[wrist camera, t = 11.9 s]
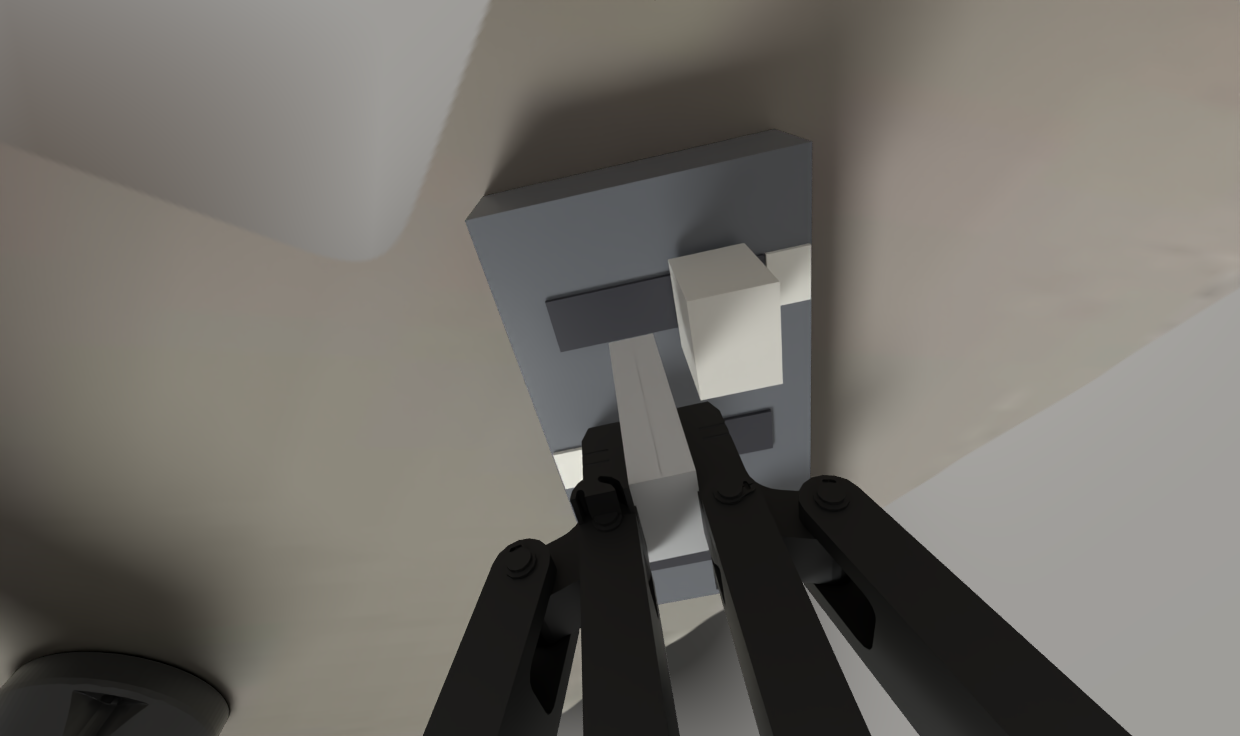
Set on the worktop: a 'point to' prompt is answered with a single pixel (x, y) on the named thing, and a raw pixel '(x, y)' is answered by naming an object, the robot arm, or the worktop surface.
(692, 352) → the tab
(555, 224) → the switch bank
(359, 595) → the worktop surface
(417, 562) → the worktop surface
